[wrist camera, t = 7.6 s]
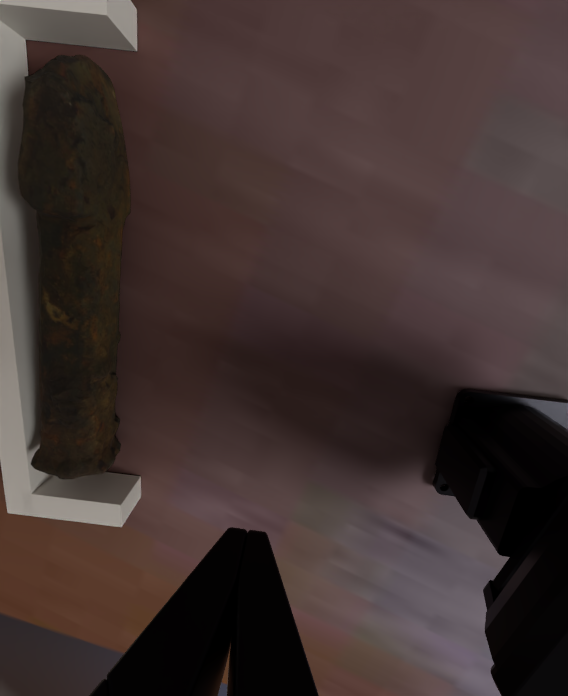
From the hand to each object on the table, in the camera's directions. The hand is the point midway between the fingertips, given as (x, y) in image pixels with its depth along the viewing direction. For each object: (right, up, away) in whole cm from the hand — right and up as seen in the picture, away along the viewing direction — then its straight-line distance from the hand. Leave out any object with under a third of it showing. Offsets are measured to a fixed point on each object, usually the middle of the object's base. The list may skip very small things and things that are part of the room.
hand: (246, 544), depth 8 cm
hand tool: (-9, +8, +11) cm, 16 cm away
